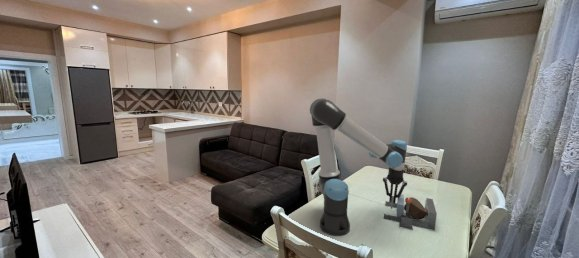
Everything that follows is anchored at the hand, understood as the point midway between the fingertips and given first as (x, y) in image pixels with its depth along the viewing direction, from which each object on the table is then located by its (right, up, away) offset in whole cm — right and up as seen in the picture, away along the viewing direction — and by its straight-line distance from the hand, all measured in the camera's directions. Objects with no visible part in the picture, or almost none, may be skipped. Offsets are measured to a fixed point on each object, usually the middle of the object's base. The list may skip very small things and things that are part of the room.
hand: (391, 207), depth 133 cm
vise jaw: (+4, -3, -1) cm, 5 cm away
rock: (+10, -4, -4) cm, 12 cm away
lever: (+2, -1, -13) cm, 13 cm away
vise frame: (+7, -4, -5) cm, 9 cm away
